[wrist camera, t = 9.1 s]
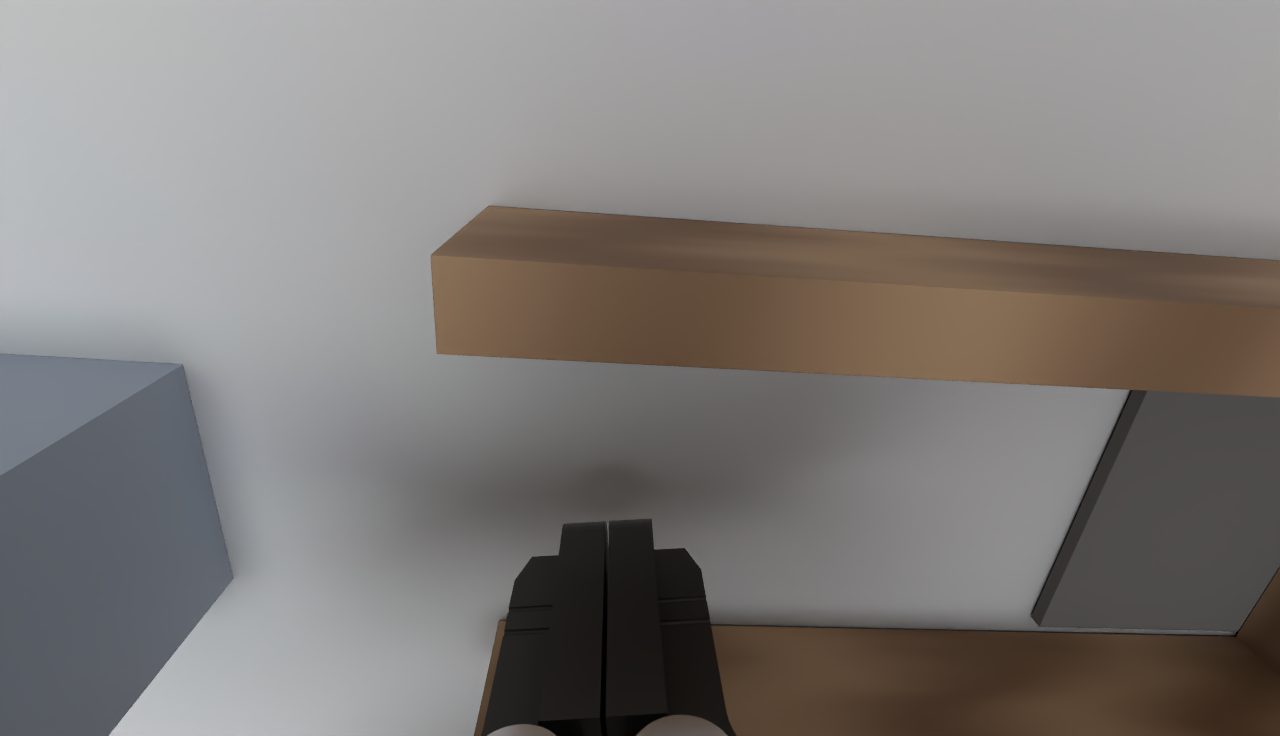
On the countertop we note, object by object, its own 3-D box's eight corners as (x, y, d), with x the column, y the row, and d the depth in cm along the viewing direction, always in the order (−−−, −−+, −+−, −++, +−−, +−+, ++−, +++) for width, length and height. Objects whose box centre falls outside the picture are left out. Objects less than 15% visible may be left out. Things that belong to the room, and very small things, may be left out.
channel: (1516, 276, 11) (1873, 345, 8) (1250, 672, 15) (1416, 820, 12) (488, 205, 10) (429, 254, 7) (499, 658, 14) (467, 821, 11)
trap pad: (1390, 356, 12) (1409, 362, 12) (1226, 621, 15) (1238, 631, 14) (1153, 342, 12) (1166, 348, 11) (1031, 616, 14) (1039, 626, 14)
